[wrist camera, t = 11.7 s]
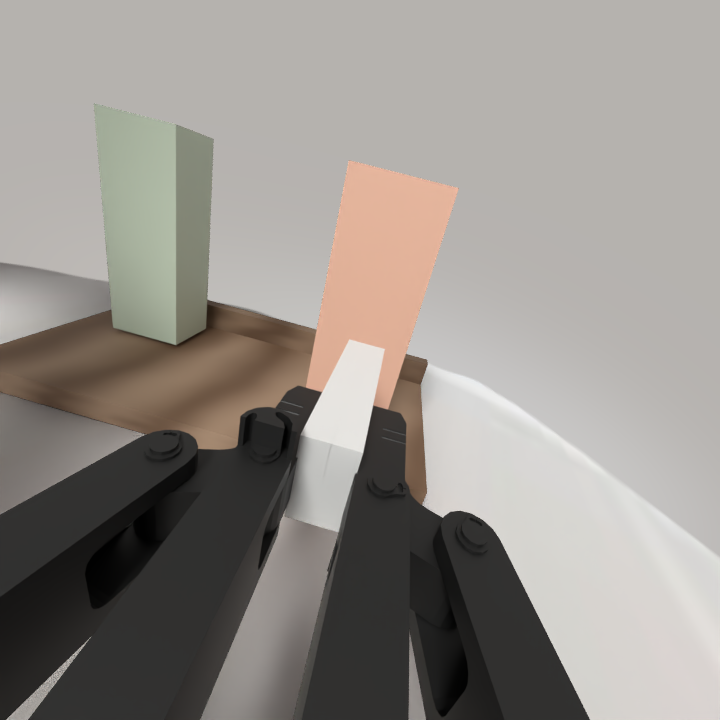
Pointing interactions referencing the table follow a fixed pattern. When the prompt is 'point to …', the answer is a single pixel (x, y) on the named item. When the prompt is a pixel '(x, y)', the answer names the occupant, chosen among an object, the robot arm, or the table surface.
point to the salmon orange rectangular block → (379, 269)
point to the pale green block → (155, 223)
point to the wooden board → (187, 377)
